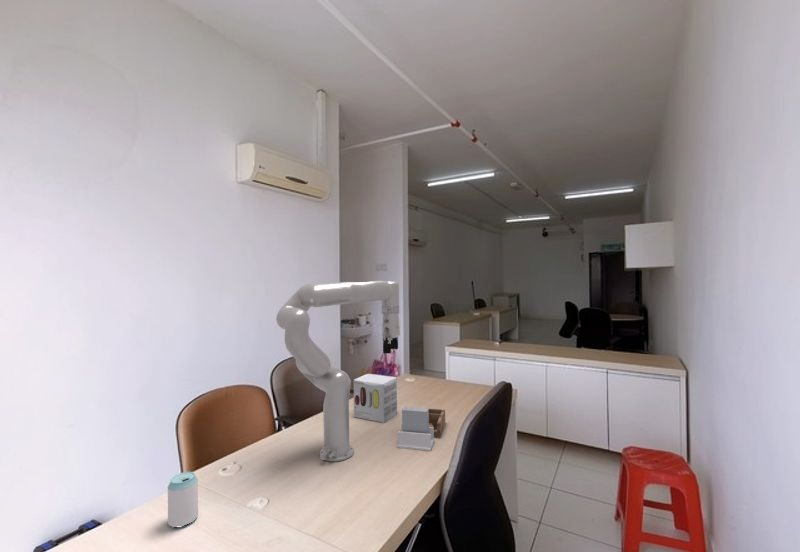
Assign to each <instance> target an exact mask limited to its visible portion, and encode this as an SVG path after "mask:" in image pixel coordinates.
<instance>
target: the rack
mask: <svg viewBox="0 0 800 552" xmlns="http://www.w3.org/2000/svg"><path fill="white" fill-rule="evenodd" d="M427 409H429V423H432V425H433V426H434V439H441V437H442V433H443V431H444V428H445V426H446V410H445V409H441V408H429V407H428V408H427Z"/></svg>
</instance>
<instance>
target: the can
mask: <svg viewBox="0 0 800 552" xmlns="http://www.w3.org/2000/svg"><path fill="white" fill-rule="evenodd" d="M198 480H199V479H198V477H197V476H196V473H195V472H193V471H184V472H180V473H178V474H175V475H174V476H172V477H171V479H170V482H169V484H168V486H167V525H168V524H169V525H170V526H173V527H172V528H174V527H177V526H183V525H186V524H189V523H190V524H192V523H193V522H194V521H195V520H196V519H197V518H198V515H199V490H198V489H199V487H198V486H199V485H198V484H199V481H198ZM192 521H193V522H192ZM191 522H192V523H191ZM190 524H189V525H190ZM169 525H168V526H169ZM170 526H169V527H170Z"/></svg>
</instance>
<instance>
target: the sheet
mask: <svg viewBox="0 0 800 552" xmlns="http://www.w3.org/2000/svg"><path fill="white" fill-rule="evenodd" d="M429 409H430V408H428V409H427V408H426V407H408V406H404V407H403V408H402V410H401V421H402V422H401V424H402V425H401V431H402V432H413V433H425V434H429Z"/></svg>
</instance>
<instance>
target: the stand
mask: <svg viewBox="0 0 800 552" xmlns="http://www.w3.org/2000/svg"><path fill="white" fill-rule="evenodd" d="M434 431H435V429H434V427H429V434H425V433H413V432H402V430H400V431H397V445H396V446H397V447H396V448H397V449H404V450H415V451H422V452H423V451H424V452H426V451H427V452H432V448H433V445H434V443H435V438H434Z"/></svg>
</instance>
